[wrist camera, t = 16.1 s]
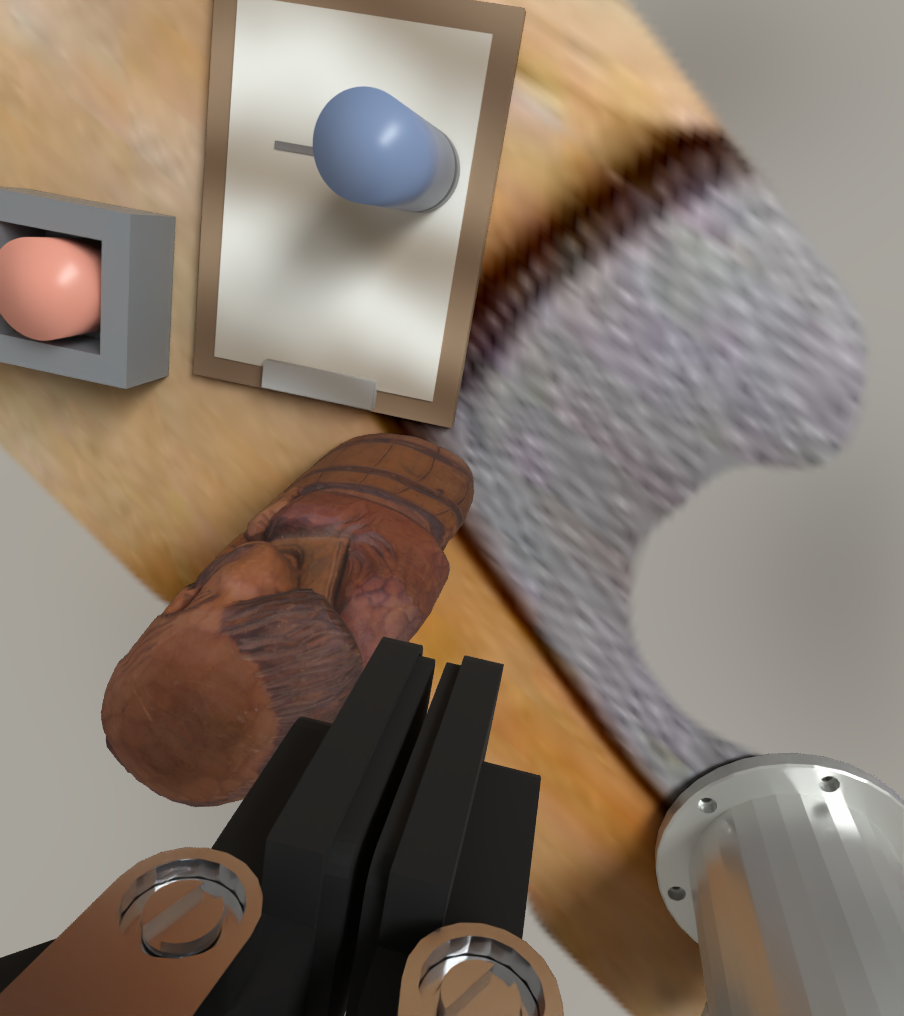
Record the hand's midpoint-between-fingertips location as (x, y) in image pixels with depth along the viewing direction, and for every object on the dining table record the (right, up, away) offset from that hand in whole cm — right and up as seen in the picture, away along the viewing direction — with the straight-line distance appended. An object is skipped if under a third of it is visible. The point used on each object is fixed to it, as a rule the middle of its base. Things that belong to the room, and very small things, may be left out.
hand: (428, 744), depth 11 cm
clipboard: (-4, +16, +22) cm, 27 cm away
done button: (-16, +13, +24) cm, 32 cm away
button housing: (-16, +13, +25) cm, 32 cm away
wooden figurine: (-4, +3, +26) cm, 27 cm away
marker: (-1, +17, +20) cm, 26 cm away
